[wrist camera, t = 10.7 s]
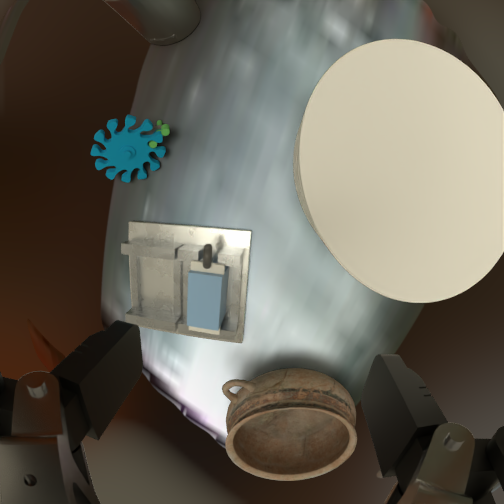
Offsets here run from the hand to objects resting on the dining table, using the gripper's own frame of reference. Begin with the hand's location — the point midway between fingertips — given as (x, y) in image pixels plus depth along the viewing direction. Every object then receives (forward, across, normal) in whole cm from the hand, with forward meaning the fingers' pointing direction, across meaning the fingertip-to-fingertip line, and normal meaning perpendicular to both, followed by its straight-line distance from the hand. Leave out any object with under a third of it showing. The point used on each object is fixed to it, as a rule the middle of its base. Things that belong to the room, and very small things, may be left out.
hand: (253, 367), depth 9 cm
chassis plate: (+30, +11, +9) cm, 33 cm away
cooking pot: (+29, -7, +26) cm, 40 cm away
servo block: (+28, +7, +7) cm, 30 cm away
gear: (+30, +18, -9) cm, 36 cm away
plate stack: (+30, -16, -10) cm, 35 cm away
